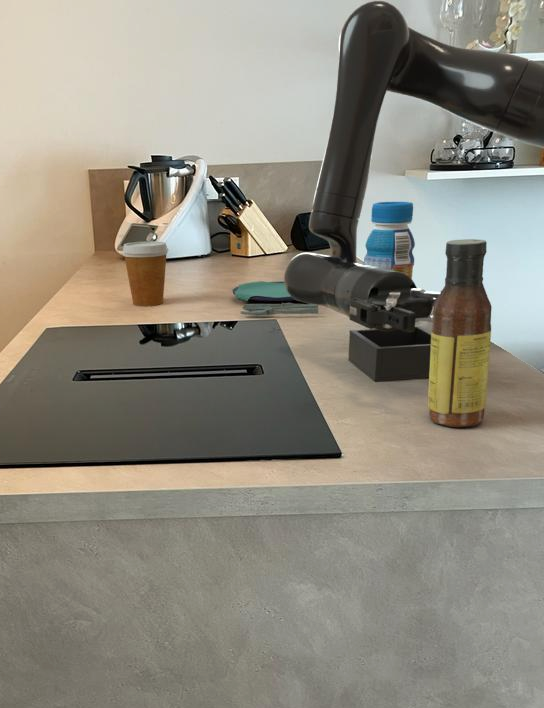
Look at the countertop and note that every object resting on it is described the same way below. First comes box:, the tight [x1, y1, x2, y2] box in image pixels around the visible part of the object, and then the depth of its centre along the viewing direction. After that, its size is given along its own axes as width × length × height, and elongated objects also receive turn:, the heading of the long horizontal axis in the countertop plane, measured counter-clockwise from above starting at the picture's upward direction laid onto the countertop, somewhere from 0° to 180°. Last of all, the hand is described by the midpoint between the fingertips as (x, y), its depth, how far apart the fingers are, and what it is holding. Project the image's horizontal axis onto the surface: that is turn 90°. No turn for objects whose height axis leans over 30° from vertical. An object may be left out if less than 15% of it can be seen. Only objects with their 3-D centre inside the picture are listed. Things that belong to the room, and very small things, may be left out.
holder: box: [347, 326, 431, 383], centre depth 110 cm, size 11×12×4 cm
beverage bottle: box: [363, 201, 416, 280], centre depth 136 cm, size 8×8×20 cm
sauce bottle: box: [427, 238, 493, 428], centre depth 86 cm, size 6×6×20 cm
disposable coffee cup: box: [121, 240, 169, 307], centre depth 162 cm, size 10×10×12 cm
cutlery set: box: [232, 280, 319, 316], centre depth 159 cm, size 20×30×2 cm, turn 171°
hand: (446, 319), depth 88 cm, fingers open, 8 cm apart
